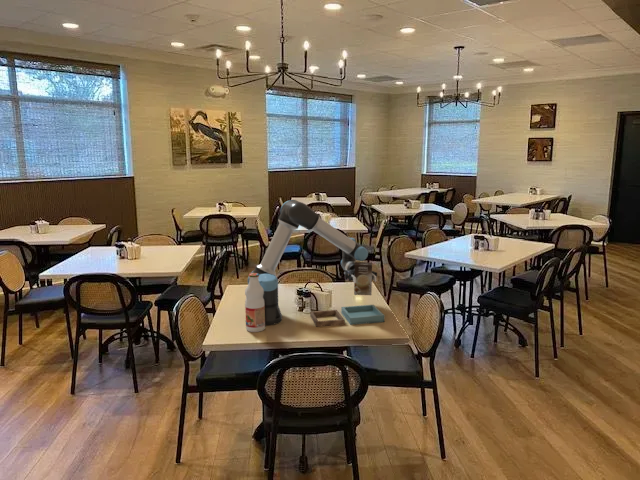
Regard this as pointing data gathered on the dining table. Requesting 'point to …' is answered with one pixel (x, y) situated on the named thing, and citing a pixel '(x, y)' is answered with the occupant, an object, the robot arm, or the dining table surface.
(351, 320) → the teal tray
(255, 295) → the fruit juice
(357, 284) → the coffee box
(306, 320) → the dining table surface
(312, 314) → the walnut frame
